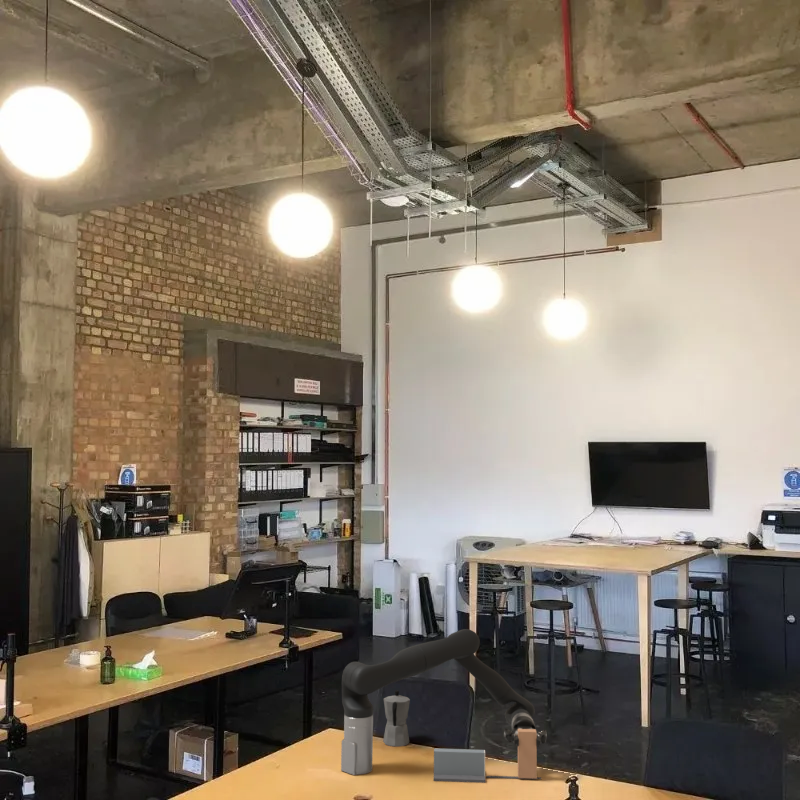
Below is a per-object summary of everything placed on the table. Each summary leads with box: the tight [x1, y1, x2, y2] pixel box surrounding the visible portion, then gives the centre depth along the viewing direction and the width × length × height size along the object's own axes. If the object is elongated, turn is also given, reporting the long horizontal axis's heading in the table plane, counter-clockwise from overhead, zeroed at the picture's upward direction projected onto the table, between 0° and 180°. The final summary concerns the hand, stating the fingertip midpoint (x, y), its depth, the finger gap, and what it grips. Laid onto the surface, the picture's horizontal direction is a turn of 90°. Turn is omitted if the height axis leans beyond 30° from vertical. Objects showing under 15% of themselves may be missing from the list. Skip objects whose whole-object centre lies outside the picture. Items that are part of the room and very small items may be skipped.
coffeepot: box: [383, 689, 411, 748], centre depth 302 cm, size 15×9×18 cm, turn 175°
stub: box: [517, 728, 538, 780], centre depth 269 cm, size 6×3×14 cm, turn 86°
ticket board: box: [432, 747, 542, 784], centre depth 269 cm, size 34×10×8 cm, turn 86°
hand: (527, 743), depth 266 cm, fingers closed on stub, 5 cm apart
